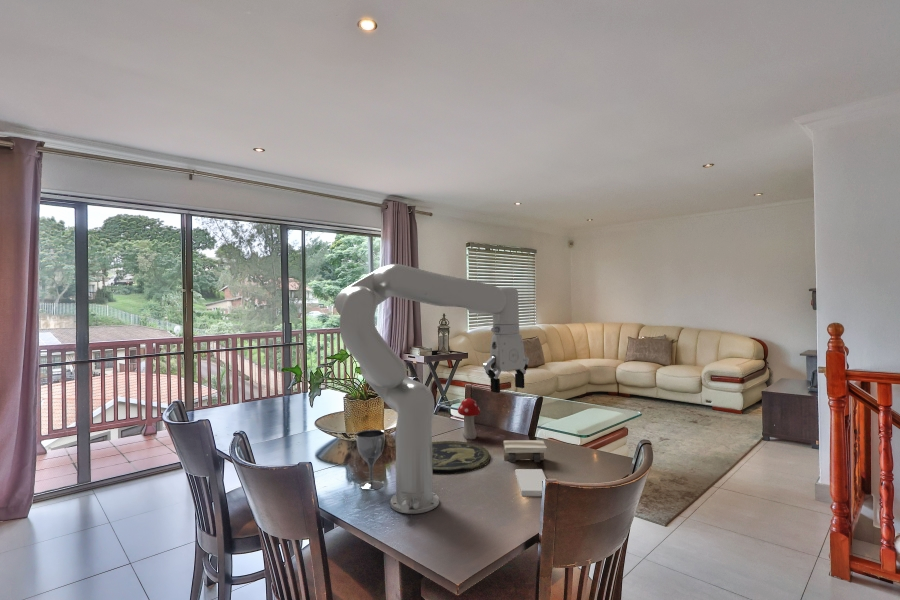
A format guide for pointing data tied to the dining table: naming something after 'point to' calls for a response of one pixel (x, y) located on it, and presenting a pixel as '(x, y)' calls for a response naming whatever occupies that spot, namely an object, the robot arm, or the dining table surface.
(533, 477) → the tile
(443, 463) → the decorative plate
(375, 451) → the wine glass
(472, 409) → the decorative mushroom
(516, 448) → the low shelf
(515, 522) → the dining table surface
